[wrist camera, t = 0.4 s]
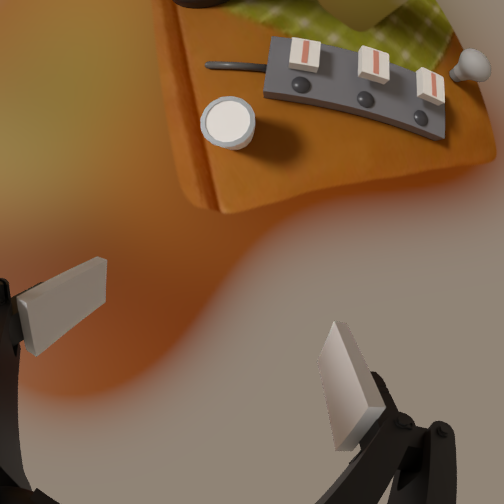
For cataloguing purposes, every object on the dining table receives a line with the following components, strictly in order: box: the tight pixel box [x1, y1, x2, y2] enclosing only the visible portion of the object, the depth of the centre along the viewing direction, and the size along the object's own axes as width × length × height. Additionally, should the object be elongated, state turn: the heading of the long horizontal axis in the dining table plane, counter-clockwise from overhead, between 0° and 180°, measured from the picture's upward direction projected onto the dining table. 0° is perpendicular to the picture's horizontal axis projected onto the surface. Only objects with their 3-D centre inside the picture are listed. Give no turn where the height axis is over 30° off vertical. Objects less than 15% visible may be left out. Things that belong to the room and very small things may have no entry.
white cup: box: [201, 96, 255, 150], centre depth 34 cm, size 7×7×7 cm
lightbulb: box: [449, 48, 491, 82], centre depth 25 cm, size 6×6×11 cm
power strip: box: [205, 36, 445, 141], centre depth 32 cm, size 10×39×3 cm, turn 82°
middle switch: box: [358, 45, 389, 84], centre depth 27 cm, size 5×4×2 cm
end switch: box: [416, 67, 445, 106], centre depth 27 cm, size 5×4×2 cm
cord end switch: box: [288, 37, 321, 73], centre depth 30 cm, size 5×4×2 cm
